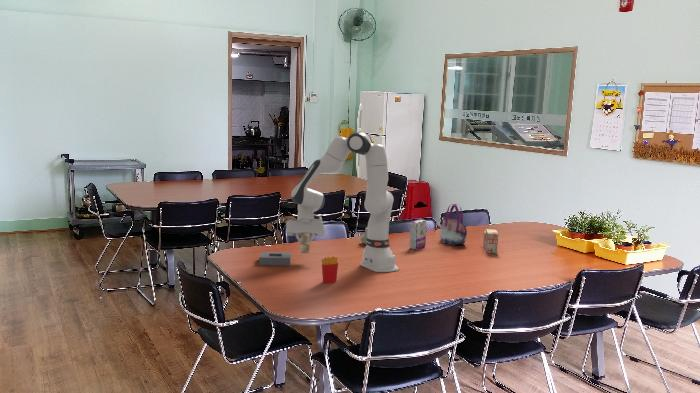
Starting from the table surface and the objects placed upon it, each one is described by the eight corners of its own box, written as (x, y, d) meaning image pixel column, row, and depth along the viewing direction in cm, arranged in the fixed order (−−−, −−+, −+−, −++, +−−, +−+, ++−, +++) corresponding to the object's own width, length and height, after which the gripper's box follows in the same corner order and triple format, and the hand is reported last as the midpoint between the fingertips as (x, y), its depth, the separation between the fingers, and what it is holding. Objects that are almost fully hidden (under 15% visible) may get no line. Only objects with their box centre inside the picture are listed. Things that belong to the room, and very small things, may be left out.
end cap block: (291, 259, 316) (291, 252, 315) (290, 265, 304) (290, 258, 303) (260, 259, 315) (261, 251, 314) (259, 265, 303) (259, 257, 302)
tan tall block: (309, 251, 311) (309, 233, 310) (309, 253, 308) (309, 234, 306) (300, 251, 311) (300, 233, 310) (300, 253, 307) (300, 234, 306)
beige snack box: (482, 245, 369) (484, 226, 367) (493, 245, 368) (494, 226, 366) (486, 253, 348) (487, 232, 346) (497, 254, 347) (498, 233, 345)
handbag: (434, 240, 376) (436, 202, 373) (445, 239, 382) (448, 201, 379) (459, 247, 359) (462, 207, 356) (470, 245, 365) (473, 206, 362)
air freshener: (358, 244, 359) (358, 227, 357) (364, 241, 366) (365, 225, 365) (374, 246, 354) (375, 230, 352) (380, 244, 361) (381, 228, 360)
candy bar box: (418, 245, 361) (419, 219, 359) (425, 246, 358) (427, 220, 356) (408, 248, 352) (410, 221, 350) (416, 249, 349) (417, 222, 347)
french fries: (334, 279, 282) (335, 255, 281) (338, 281, 279) (339, 257, 277) (319, 281, 278) (320, 257, 276) (323, 284, 274) (324, 259, 273)
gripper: (285, 216, 313) (284, 238, 305) (324, 216, 314) (324, 238, 306) (286, 223, 318) (285, 244, 310) (324, 223, 319) (324, 245, 311)
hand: (305, 241), depth 308 cm, fingers closed on tan tall block, 4 cm apart
